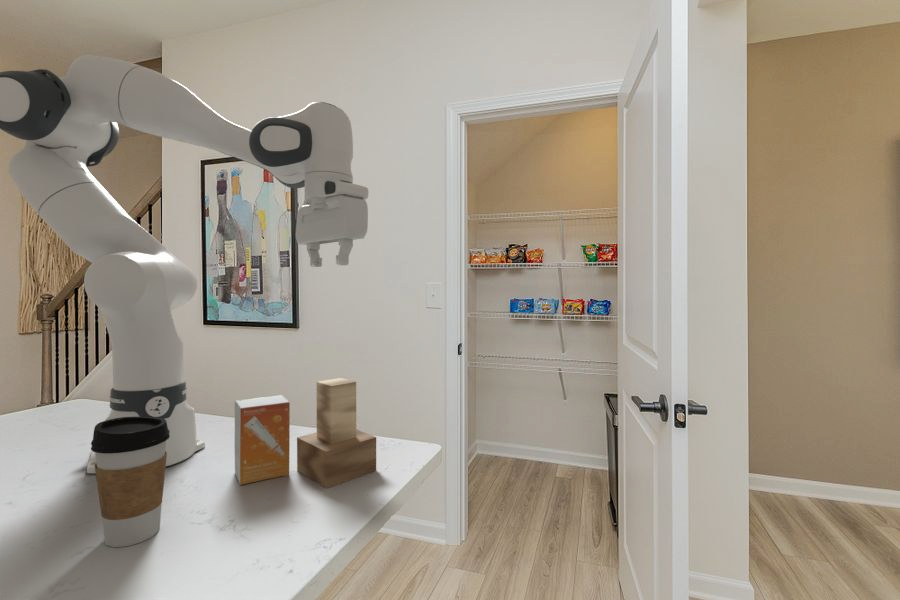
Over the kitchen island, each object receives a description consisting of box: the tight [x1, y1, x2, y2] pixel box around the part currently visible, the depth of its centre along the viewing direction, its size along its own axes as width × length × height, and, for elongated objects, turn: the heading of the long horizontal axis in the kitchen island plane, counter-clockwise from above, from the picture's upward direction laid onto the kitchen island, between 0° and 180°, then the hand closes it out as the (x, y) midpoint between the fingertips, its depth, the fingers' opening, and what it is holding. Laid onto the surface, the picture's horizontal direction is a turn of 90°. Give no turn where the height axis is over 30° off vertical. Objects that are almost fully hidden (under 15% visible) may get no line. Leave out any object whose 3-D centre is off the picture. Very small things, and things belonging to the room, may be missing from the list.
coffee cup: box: [90, 417, 170, 548], centre depth 58 cm, size 8×8×15 cm
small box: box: [234, 394, 291, 486], centre depth 77 cm, size 8×6×13 cm
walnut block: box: [296, 429, 377, 489], centre depth 79 cm, size 10×10×6 cm
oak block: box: [316, 377, 357, 444], centre depth 79 cm, size 5×5×10 cm
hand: (328, 266), depth 84 cm, fingers open, 8 cm apart
